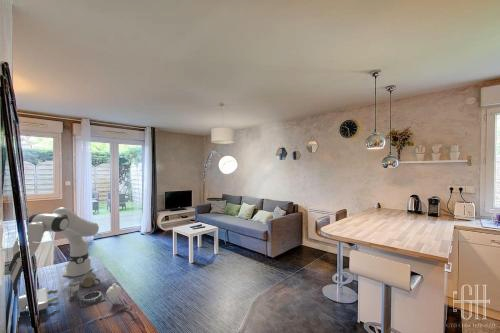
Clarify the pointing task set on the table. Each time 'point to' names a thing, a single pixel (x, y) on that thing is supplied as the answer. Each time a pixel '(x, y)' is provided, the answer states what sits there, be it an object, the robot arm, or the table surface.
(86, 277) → the ceramic mug
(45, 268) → the table surface
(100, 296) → the duct flange
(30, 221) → the robot arm
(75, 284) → the lidded canister
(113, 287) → the spinning top
